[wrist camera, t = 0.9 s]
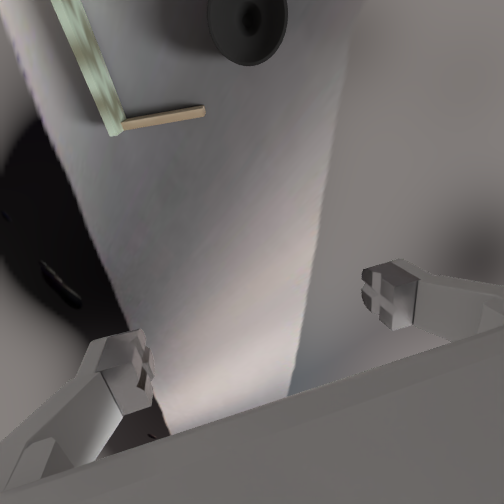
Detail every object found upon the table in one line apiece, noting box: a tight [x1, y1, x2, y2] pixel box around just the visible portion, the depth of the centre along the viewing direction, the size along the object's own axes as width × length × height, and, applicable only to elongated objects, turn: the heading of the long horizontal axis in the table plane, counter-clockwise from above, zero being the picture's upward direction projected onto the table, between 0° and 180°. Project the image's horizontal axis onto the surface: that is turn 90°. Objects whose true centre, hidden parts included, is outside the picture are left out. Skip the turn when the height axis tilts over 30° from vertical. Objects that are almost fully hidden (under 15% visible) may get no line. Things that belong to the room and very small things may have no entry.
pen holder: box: [207, 0, 288, 66], centre depth 37 cm, size 9×9×10 cm
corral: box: [51, 0, 206, 137], centre depth 39 cm, size 21×15×6 cm
